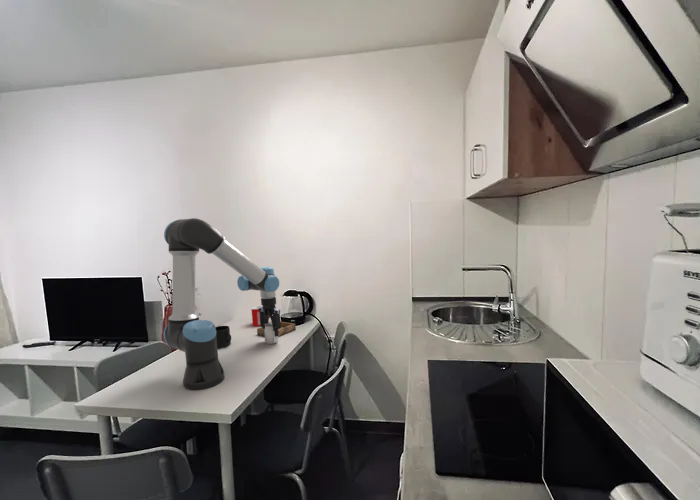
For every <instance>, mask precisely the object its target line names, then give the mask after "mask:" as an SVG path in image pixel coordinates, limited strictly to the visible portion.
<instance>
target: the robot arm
mask: <svg viewBox="0 0 700 500" xmlns="http://www.w3.org/2000/svg"><path fill="white" fill-rule="evenodd" d="M163 237H164V240H165V242H166V244H168V253H169V254H170V255H171V256H172V313H171V315H169V316H168V320H167V321H168V322H167V325H166V326H165V328H164V330H163V339H164V341H165V343H166V345H168V346H169V347H170V348H172V349H175V350H178V351H180V352H183V353H184V354H185V364H186V367H185V370H184V374H183V378H182V385H183V388H185V390H190V391H191V390H192V391H198V390H199V391H200V390H205V389H208V388H209V389H210V388H211V387H214V386H217V385H219V384H220V383H222V382H223V381H224V380H225V370H224V369H223V367H222V363H221V362H220V360H219V353H218V352H219V351H218V350H219V349H218V348H217V338H216V329H215V327H216V325H215V323H214V322H213V321H211V320H207V319H204V320H203V319H200V315H199V314H197V312H196V257H197V255H198V254H199V253H200V250H202V251H204V252H205V253H206V254H209V255H214V256H215V257H216V258H218V259H219V260H220V261H222V262H223V263H225V264H226V265H227V266H229V267H230V268H231V269H232V270H234V271H236V272H237V273H238V274H240V276H238V277H237V287H238V289H239V290H240V291H241V292H243V291H244V292H245V291H246V292H247V291H260V293H259V295H260V297H261V298H260V303H261V305H260V306H263V307H262V308H259V312H260V326H259V328H261V327H263V329H264V334H265V323H268V322H272V325H273V329H274V330H273V344H276V343H278V342H279V337H278V335H279V334H278V329H281V322H282V321H281V315H280V314H281V309H277V307H276V305H277V297H276V296H277V295H276V291H278V289H279V287H280V279H279V278H278V277H277V275H275V269H274V267H272V266H264V267H263V266H262V267H260V266H259V265H258V264H256V263H255V262H254V261H252V260H251V259H250V258H249V257H248V256H246V255H245V254H244V253H243V252H241V251H240V250H239V249H237V248H236V247H235V246H234V245H232V244H231V243H230V242H229V241H227V240H226V238H225V235H224V234H223V233H222V232H220V231H219V230H218V229H216V228H215V227H214V226H212V225H211V224H210V223H208V222H207V221H205V220H203V219H200V218H197V217H193V218H184V219H183V218H181V219H177V220H173V221H172V222H170V223H168V224H167V225H166V226H165V229H164V232H163ZM269 317H270V318H269ZM269 319H270V321H269ZM264 341H265V342H266V334H265V336H264Z"/></svg>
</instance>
